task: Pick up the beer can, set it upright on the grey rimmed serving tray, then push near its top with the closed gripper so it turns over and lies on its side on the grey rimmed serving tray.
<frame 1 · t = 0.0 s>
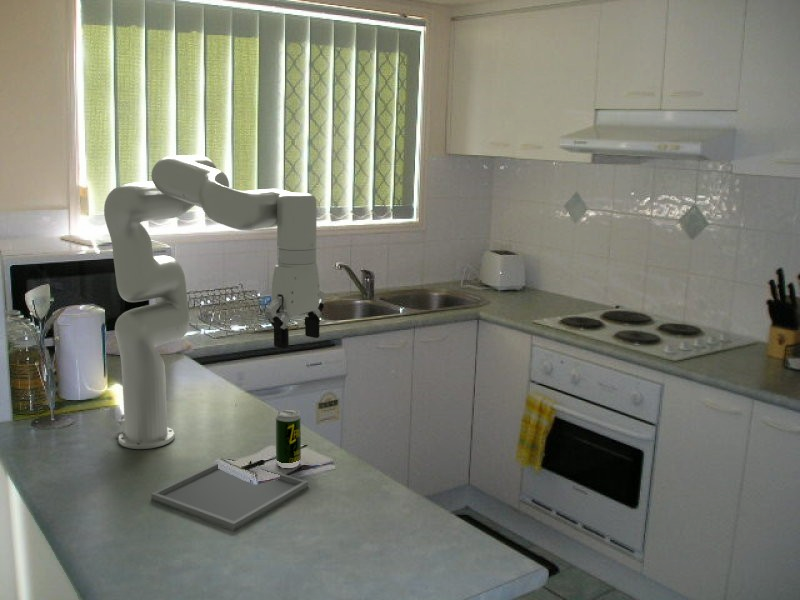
hand: (297, 341, 165), 31 cm above the counter, fingers open, 9 cm apart
grey rimmed serving tray: (231, 494, 168), on the counter
beer can: (288, 465, 183), on the counter
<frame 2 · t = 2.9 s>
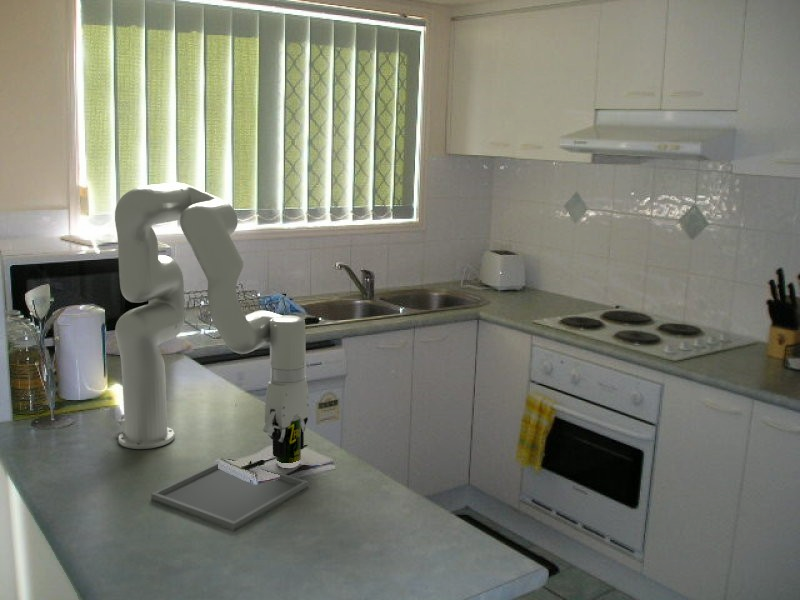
hand: (288, 451, 182), 3 cm above the counter, fingers closed on beer can, 5 cm apart
beer can: (288, 465, 183), on the counter, touching gripper
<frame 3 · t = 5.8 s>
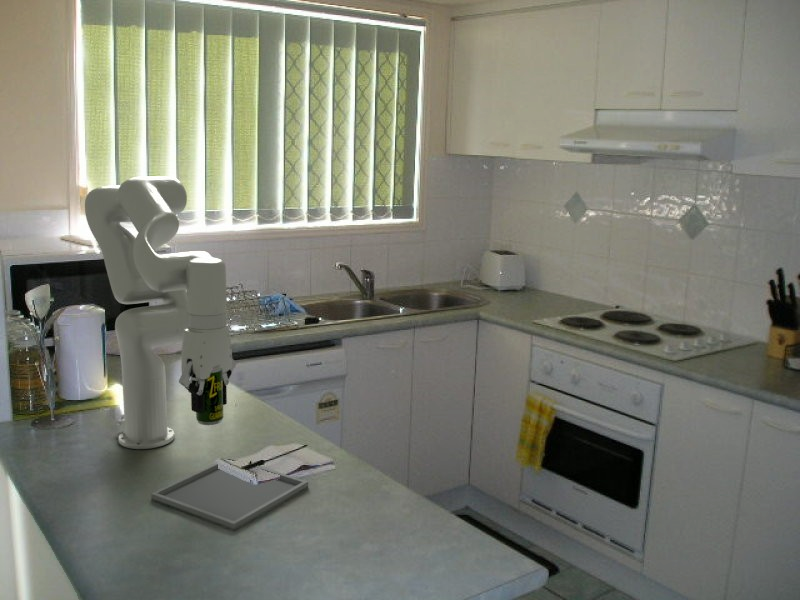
hand: (209, 406, 167), 17 cm above the counter, fingers closed on beer can, 5 cm apart
beer can: (210, 421, 168), point 14 cm above the counter, touching gripper
when the fingers open (4 cm above the counter, at t = 8.8 s): beer can stays where it is, resting on grey rimmed serving tray.
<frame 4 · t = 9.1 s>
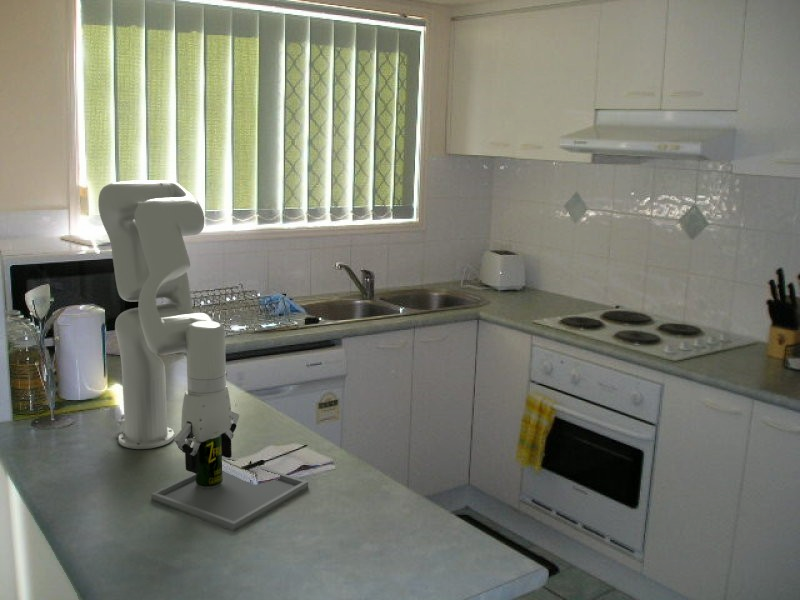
hand: (209, 463, 170), 5 cm above the counter, fingers open, 8 cm apart
beer can: (209, 485, 171), resting on grey rimmed serving tray
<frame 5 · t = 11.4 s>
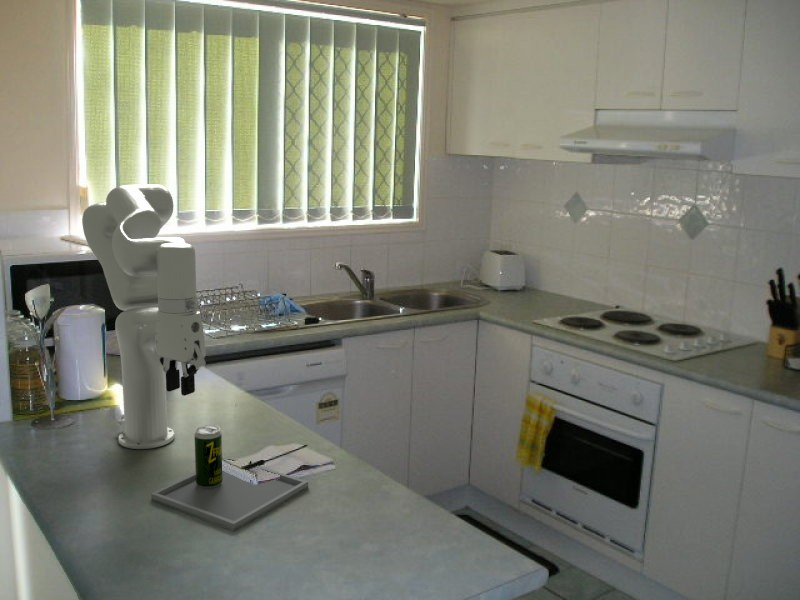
hand: (180, 390, 170), 19 cm above the counter, fingers open, 3 cm apart
nothing on the counter moved.
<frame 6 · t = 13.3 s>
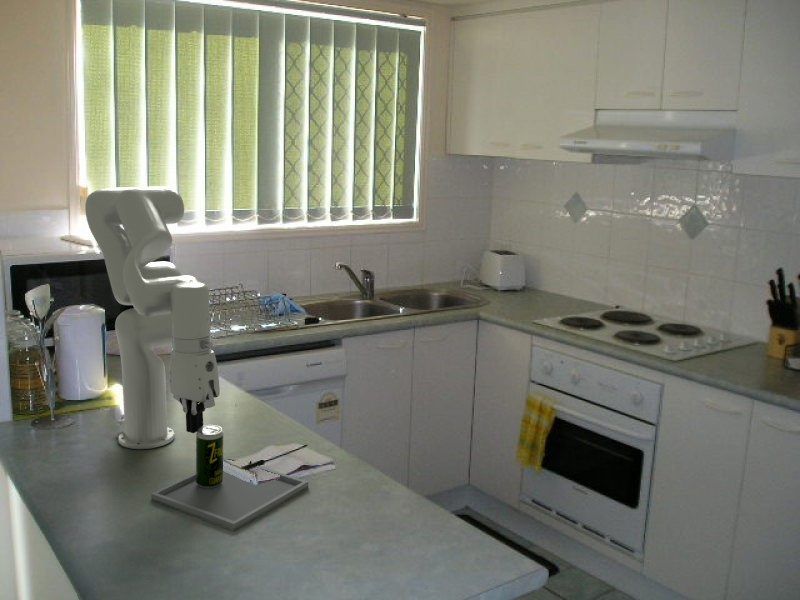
hand: (195, 430, 170), 12 cm above the counter, fingers closed
beer can: (209, 484, 171), resting on grey rimmed serving tray, touching gripper
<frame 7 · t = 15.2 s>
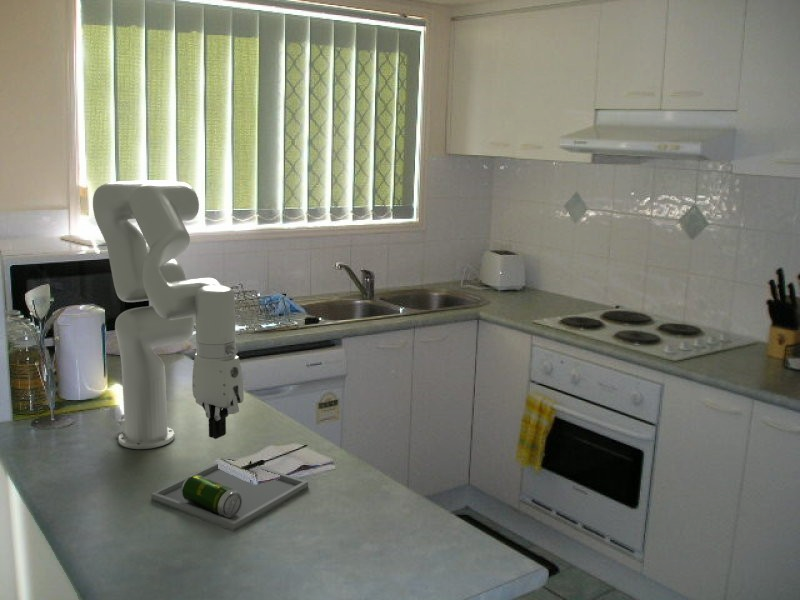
hand: (217, 435, 167), 12 cm above the counter, fingers closed
beer can: (190, 486, 163), point 3 cm above the counter, touching grey rimmed serving tray
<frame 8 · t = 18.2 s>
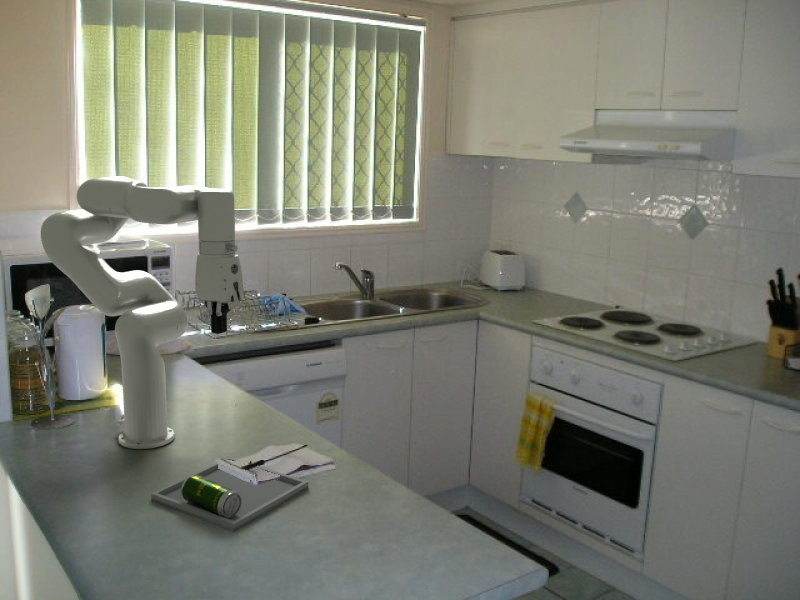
hand: (219, 332, 178), 29 cm above the counter, fingers closed
nothing on the counter moved.
at the end: beer can tilted 90°; beer can inside the target area on the grey rimmed serving tray (8.2 cm from its centre), point 3.2 cm above the grey rimmed serving tray's base; the gripper is holding nothing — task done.
